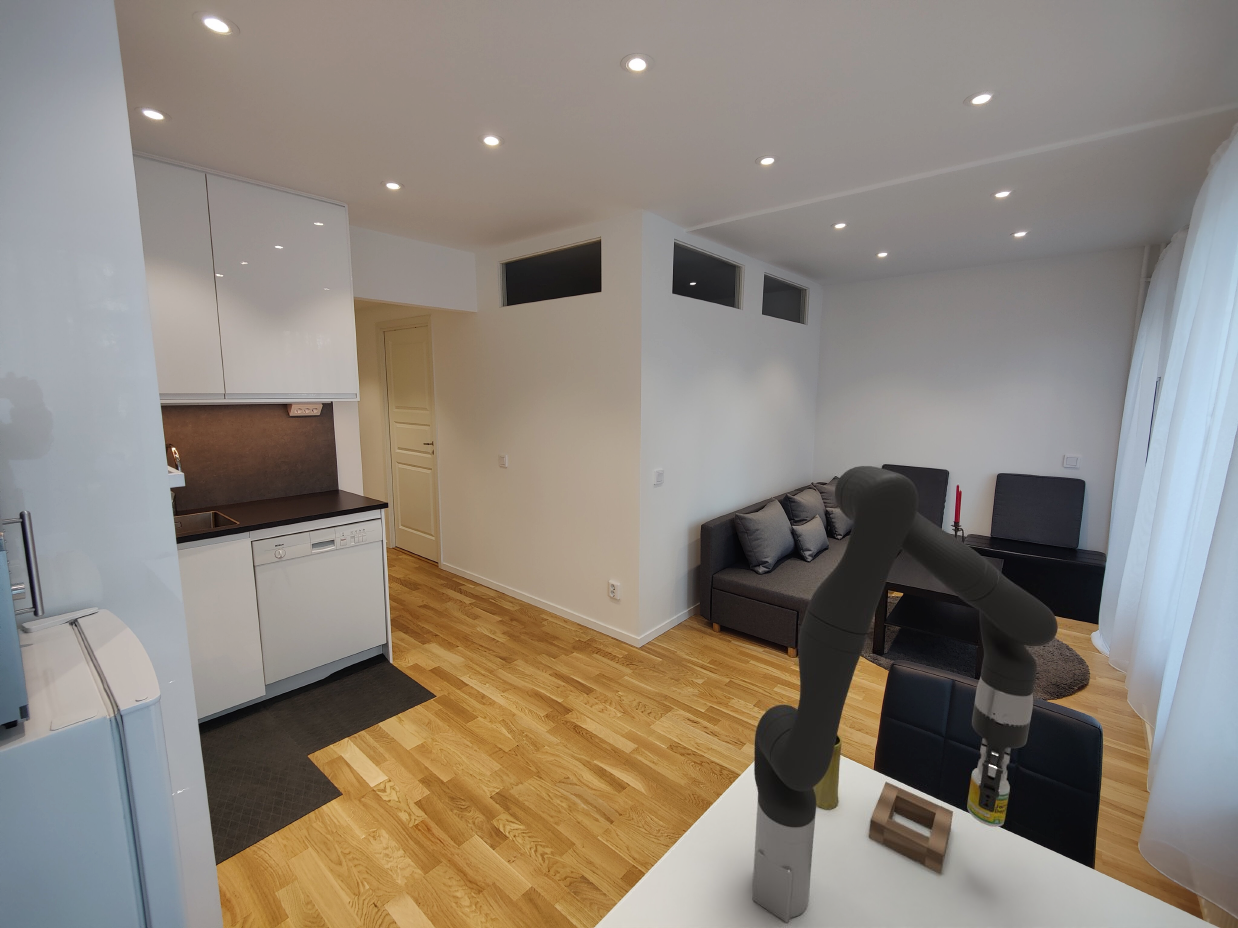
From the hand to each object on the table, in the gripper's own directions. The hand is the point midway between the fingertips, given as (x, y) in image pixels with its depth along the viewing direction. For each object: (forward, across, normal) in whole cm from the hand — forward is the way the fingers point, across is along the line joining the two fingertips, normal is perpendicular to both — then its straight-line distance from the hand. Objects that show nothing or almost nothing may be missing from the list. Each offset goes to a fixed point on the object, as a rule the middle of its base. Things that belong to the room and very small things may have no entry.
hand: (987, 797), depth 90 cm
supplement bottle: (+4, 0, 0) cm, 4 cm away
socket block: (+17, -3, -11) cm, 20 cm away
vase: (+17, -1, -27) cm, 32 cm away
